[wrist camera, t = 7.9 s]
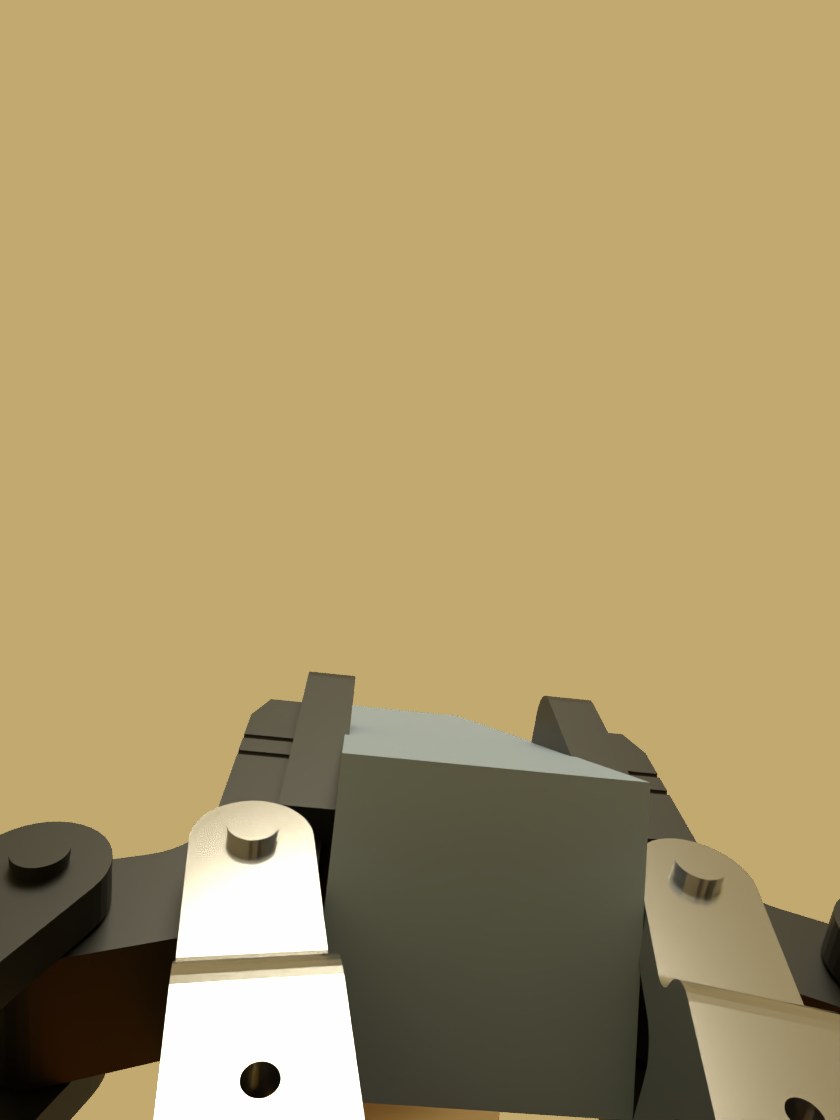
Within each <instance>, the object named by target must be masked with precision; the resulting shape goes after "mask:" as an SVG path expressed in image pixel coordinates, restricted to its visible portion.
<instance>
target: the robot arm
mask: <svg viewBox="0 0 840 1120" xmlns="http://www.w3.org/2000/svg"><path fill="white" fill-rule="evenodd" d="M354 685H355V676H347V675H336V674H327V673H318V672H309V675H308V679H307V683H306V688H305V692H304V696H303V700H302V702H293V701H283V700H272V699H271V700H270V701H268V702H267V703H266V704H264V705H263V706H262V707H260V708H259V709H258V710H257V711H255V712H254V713H253V714H252V715H251V717H250V720H249V723H248V725H247V728H246V731H245V734H244V738H243V740H242V742H241V745H240V748H239V753H238V754H237V757H236V759H235V762H234V765H233V768H232V770H231V774H230V776H229V779H228V782H227V785H226V788H225V790H224V793H223V796H222V799H221V802H220V804H219V807H218V808H216V809H213V810H212V811H210V812H208V813H206V814H205V815H204V816H203V817H201V818H200V819H199V820H198V821H197V822H196V824H195V825H194V826H193V828H192V830H191V832H190V836H189V842H188V843H186V844H184V845H181V846H179V847H176V848H174V849H171V850H167V851H164V852H160V853H155V854H149V855H142V856H135V857H127V858H121V859H112V848H111V846H110V843H109V842H108V840H107V839H106V838H105V837H104V836H103V835H102V834H100V833H99V832H98V831H96V830H94V829H92V828H90V827H87V826H84V825H81V824H76V823H69V822H45V823H37V824H32V825H27V826H23V827H20V828H17V829H14V830H11V831H8V832H6V833H4V834H1V835H0V1120H71V1118H72V1117H73V1116H74V1115H75V1114H76V1113H77V1112H78V1110H79V1109H80V1108H81V1107H82V1106H83V1105H84V1104H85V1103H86V1102H87V1100H88V1099H89V1098H90V1097H91V1096H92V1095H93V1093H94V1092H95V1091H96V1089H97V1088H98V1087H99V1085H100V1083H101V1082H102V1080H103V1078H104V1076H105V1073H110V1072H113V1071H118V1070H122V1069H127V1068H131V1067H135V1066H140V1065H144V1064H148V1063H153V1062H157V1061H161V1062H160V1071H159V1079H158V1088H157V1097H156V1106H155V1114H154V1120H365V1119H364V1112H363V1105H362V1098H361V1091H360V1084H359V1077H358V1070H357V1063H356V1056H355V1049H354V1041H353V1034H352V1027H351V1020H350V1013H349V1006H348V999H347V992H346V985H345V978H344V971H343V965H342V961H341V957H340V955H339V953H337V952H336V953H328V948H327V940H326V931H325V923H324V908H325V899H326V890H327V881H328V873H329V864H330V855H331V846H332V837H333V829H334V820H335V811H336V802H337V794H338V785H339V776H340V767H341V758H342V750H343V743H344V736H345V734H346V735H349V733H350V723H351V714H352V703H353V695H354ZM531 743H534V744H537V745H540V746H543V747H546V748H548V749H551V750H554V751H557V752H560V753H563V754H566V755H569V756H571V757H578V758H581V759H583V760H586V761H589V762H592V763H595V764H598V765H601V766H604V767H607V768H610V769H612V770H615V771H618V772H621V773H624V774H627V775H630V776H633V777H636V778H639V779H642V780H644V781H647V782H650V783H651V784H650V803H649V822H648V841H647V859H646V878H645V897H644V916H643V933H642V941H641V949H640V957H639V968H640V990H639V1009H638V1028H637V1047H636V1065H635V1084H634V1103H633V1120H840V899H839V900H838V901H837V902H836V905H835V907H834V910H833V912H832V916H831V919H830V922H829V924H827V923H824V922H821V921H817V920H814V919H811V918H807V917H804V916H801V915H798V914H794V913H791V912H787V911H784V910H781V909H778V908H775V907H772V906H769V905H767V904H764V903H763V902H762V899H761V897H760V894H759V892H758V889H757V887H756V885H755V883H754V881H753V880H752V878H751V877H750V876H749V875H748V873H747V872H746V871H745V870H744V869H743V868H742V867H741V866H740V865H738V864H737V863H736V862H734V861H733V860H732V859H730V858H729V857H727V856H726V855H724V854H722V853H720V852H718V851H716V850H715V849H712V848H710V847H708V846H705V845H702V844H699V843H697V842H696V841H695V839H694V837H693V835H692V834H691V832H690V830H689V828H688V827H687V825H686V824H685V821H684V820H683V818H682V816H681V814H680V813H679V811H678V809H677V808H676V806H675V804H674V802H673V801H672V799H671V797H670V796H669V795H667V790H666V788H665V787H664V785H663V783H662V781H661V780H660V778H657V773H656V771H655V770H654V767H653V766H652V764H651V762H650V761H649V759H648V757H647V755H646V754H645V753H644V752H643V751H642V750H641V749H639V748H638V747H637V746H636V745H635V744H633V743H632V742H631V741H630V740H628V739H627V738H626V737H625V736H623V735H622V734H612V733H608V732H607V730H606V728H605V726H604V724H603V722H602V720H601V718H600V716H599V714H598V713H597V711H596V709H595V707H594V705H593V703H592V702H591V701H589V700H580V699H570V698H560V697H550V696H544V697H543V698H542V699H541V701H540V704H539V707H538V711H537V716H536V721H535V727H534V732H533V737H532V742H531ZM599 1120H615V1119H600V1118H599Z"/></svg>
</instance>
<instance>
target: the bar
mask: <svg viewBox="0 0 840 1120" xmlns="http://www.w3.org/2000/svg"><path fill="white" fill-rule="evenodd" d="M650 784H651V783H650V782H647V781H644V780H642V779H639V778H636V777H633V776H630V775H627V774H624V773H621V772H618V771H615V770H612V769H610V768H607V767H604V766H601V765H598V764H595V763H592V762H589V761H586V760H583V759H581V758H578V757H571V756H569V755H566V754H563V753H560V752H557V751H554V750H551V749H548V748H546V747H543V746H540V745H537V744H534V743H531V741H528V740H525V739H522V738H519V737H517V736H514V735H511V734H507V733H505V732H502V731H499V730H496V729H493V728H490V727H487V726H485V725H481V724H479V723H476V722H473V721H470V720H467V719H464V718H461V717H458V716H452V715H442V714H431V713H422V712H412V711H402V710H392V709H382V708H371V707H362V706H352V714H351V723H350V733H349V735H346V734H345V736H344V743H343V750H342V758H341V767H340V776H339V785H338V794H337V802H336V811H335V820H334V829H333V837H332V846H331V855H330V864H329V873H328V881H327V890H326V899H325V908H324V923H325V931H326V940H327V948H328V953H336V952H337V953H339V955H340V957H341V961H342V965H343V971H344V978H345V985H346V992H347V999H348V1006H349V1013H350V1020H351V1027H352V1034H353V1041H354V1049H355V1056H356V1063H357V1070H358V1077H359V1084H360V1091H361V1098H362V1103H374V1104H389V1105H404V1106H419V1107H434V1108H449V1109H464V1110H479V1111H495V1112H510V1113H525V1114H540V1115H555V1116H570V1117H585V1118H600V1119H615V1120H633V1103H634V1084H635V1065H636V1047H637V1028H638V1009H639V990H640V968H639V957H640V949H641V941H642V933H643V916H644V897H645V878H646V859H647V841H648V822H649V803H650Z"/></svg>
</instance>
